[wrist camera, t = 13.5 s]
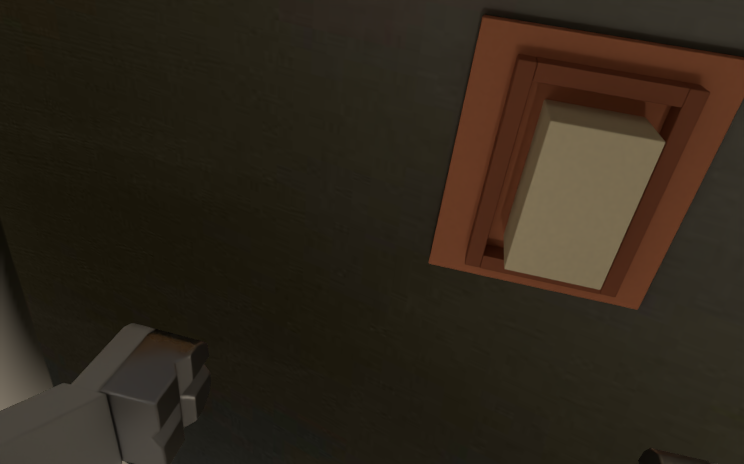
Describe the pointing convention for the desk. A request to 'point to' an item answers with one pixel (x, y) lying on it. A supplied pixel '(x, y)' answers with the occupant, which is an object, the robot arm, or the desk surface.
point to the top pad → (578, 192)
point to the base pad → (591, 89)
